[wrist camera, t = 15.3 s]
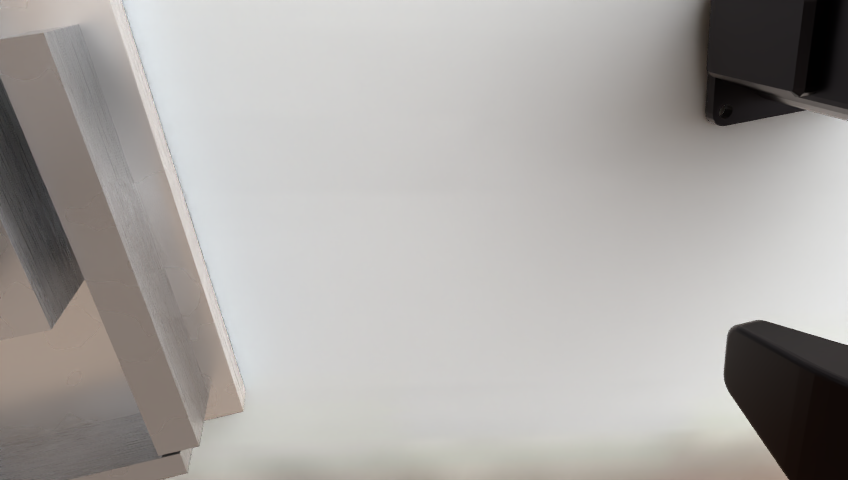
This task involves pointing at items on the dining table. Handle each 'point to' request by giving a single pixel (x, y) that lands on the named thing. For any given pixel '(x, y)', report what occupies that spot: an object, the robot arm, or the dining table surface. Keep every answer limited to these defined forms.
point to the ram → (29, 239)
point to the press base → (108, 265)
